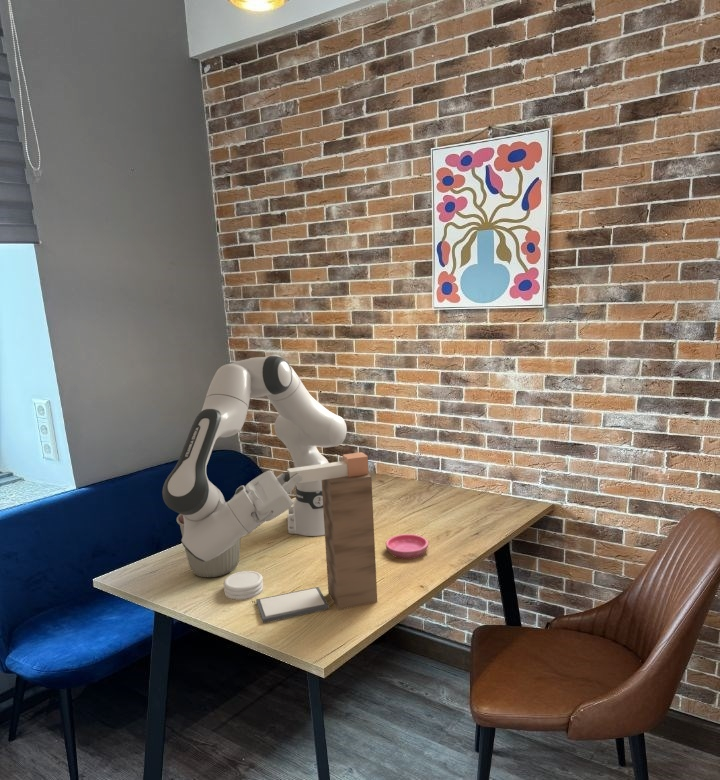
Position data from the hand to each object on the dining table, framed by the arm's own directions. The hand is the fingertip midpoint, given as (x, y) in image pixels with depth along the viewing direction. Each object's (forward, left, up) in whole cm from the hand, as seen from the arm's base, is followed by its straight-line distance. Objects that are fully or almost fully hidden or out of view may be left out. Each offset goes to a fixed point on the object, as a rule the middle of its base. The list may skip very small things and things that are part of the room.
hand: (297, 473), depth 140 cm
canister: (-31, -19, -34) cm, 50 cm away
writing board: (-2, -3, -34) cm, 34 cm away
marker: (0, +7, -2) cm, 7 cm away
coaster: (-15, -13, -34) cm, 40 cm away
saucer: (-19, +35, -34) cm, 52 cm away
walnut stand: (0, +12, -34) cm, 36 cm away
